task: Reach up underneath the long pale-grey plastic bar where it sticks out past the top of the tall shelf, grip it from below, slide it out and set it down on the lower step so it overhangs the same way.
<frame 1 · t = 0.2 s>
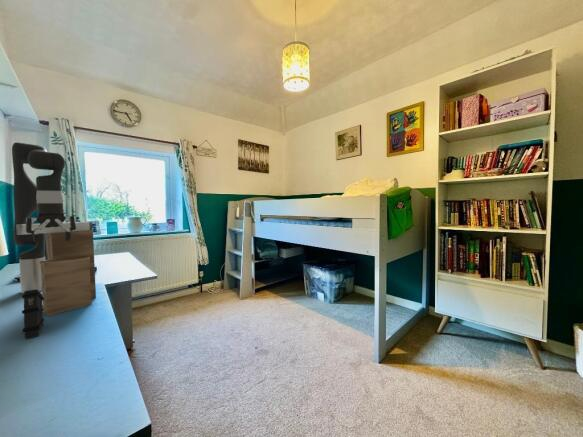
hand: (53, 242, 99), 29 cm above the table, tool pointing down, fingers open, 8 cm apart
shelf: (73, 299, 113), on the table
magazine: (35, 331, 84), on the table
bar: (57, 232, 108), point 32 cm above the table, touching shelf
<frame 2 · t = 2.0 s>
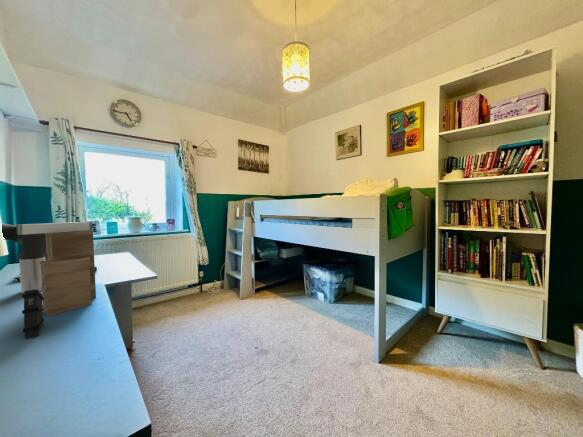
nothing on the table moved.
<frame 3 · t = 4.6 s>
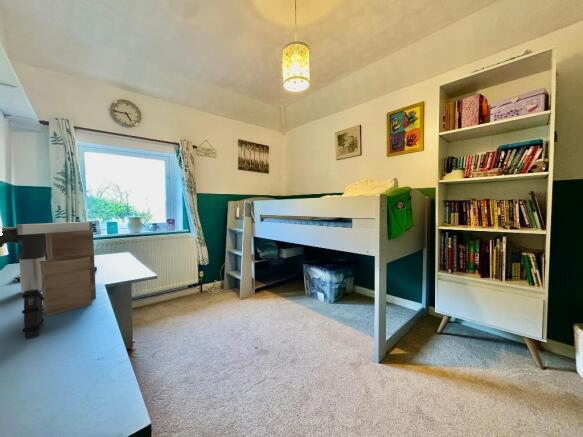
hand: (13, 235, 98), 32 cm above the table, tool pointing upward, fingers open, 8 cm apart
nothing on the table moved.
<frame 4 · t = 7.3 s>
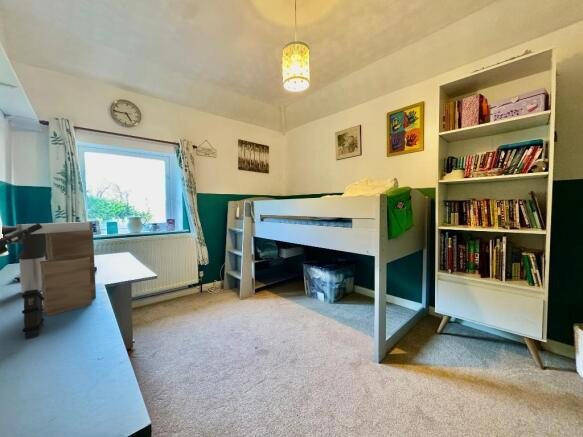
hand: (39, 225, 104), 35 cm above the table, tool pointing upward, fingers closed on bar, 4 cm apart
bar: (57, 232, 108), point 32 cm above the table, touching gripper, shelf
everything else where it was.
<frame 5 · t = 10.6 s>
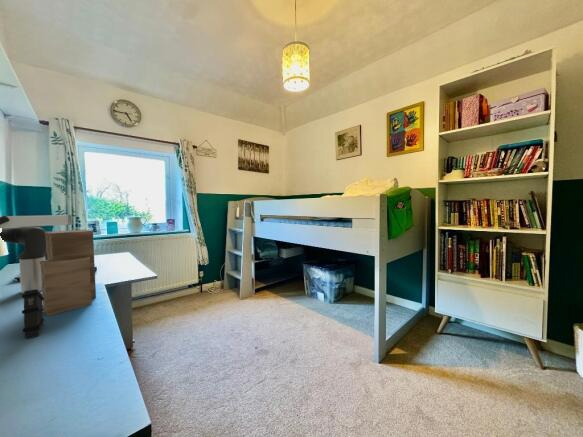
hand: (6, 218, 89), 39 cm above the table, tool pointing upward, fingers closed on bar, 4 cm apart
bar: (29, 226, 94), point 36 cm above the table, touching gripper
everything else where it was.
when the fingers open (26 cm above the table, at t = 14.1 s): bar drops 1 cm, resting on shelf.
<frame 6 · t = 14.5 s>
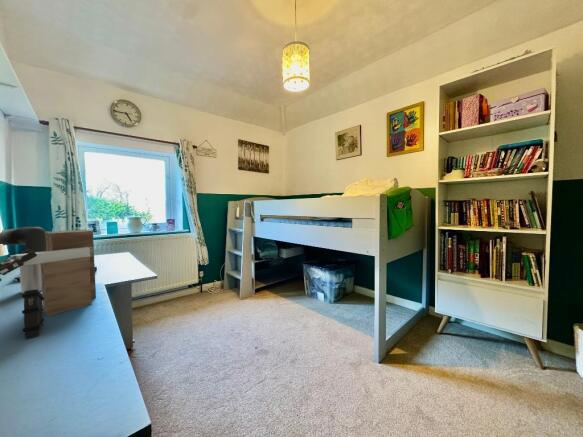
hand: (33, 252, 95), 25 cm above the table, tool pointing upward, fingers open, 8 cm apart
bar: (55, 260, 100), point 21 cm above the table, touching shelf
everything else where it was.
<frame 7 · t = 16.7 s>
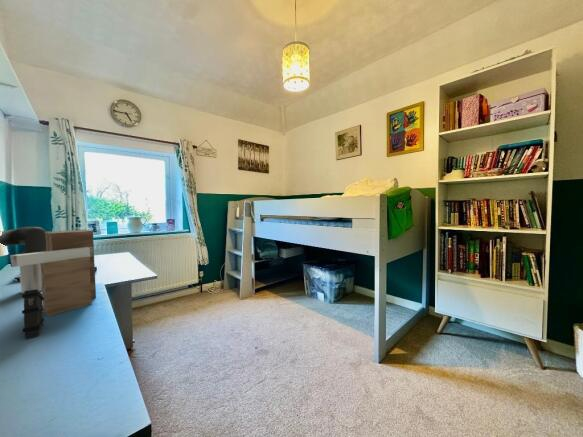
nothing on the table moved.
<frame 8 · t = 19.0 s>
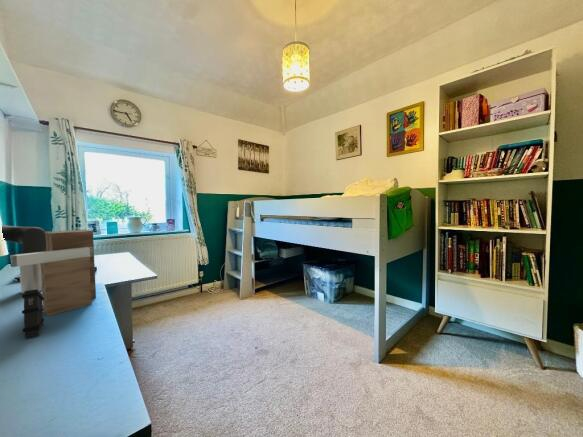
nothing on the table moved.
at the end: bar inside the target area (0.6 cm from its centre), point 21.0 cm above the table; bar tilted 0°; the gripper is holding nothing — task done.
